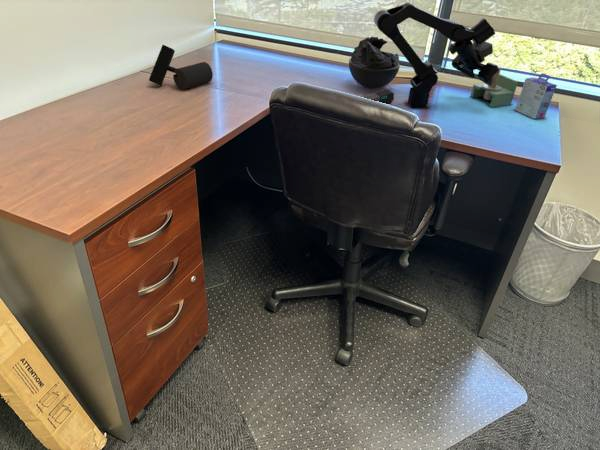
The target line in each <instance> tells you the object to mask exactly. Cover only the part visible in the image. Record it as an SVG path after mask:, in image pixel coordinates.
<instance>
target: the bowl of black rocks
mask: <svg viewBox="0 0 600 450" xmlns="http://www.w3.org/2000/svg"><path fill="white" fill-rule="evenodd" d="M387 43H388V41H386V40H384V38H379V37H378V36H370V37H369V36H368V37H366V38H364V39H361V40H359V41H358V45H357V46H355V47H354V50H353V51H352V53H351V56H350V58H349V59H348V68H349V72H350V74H351V76H352V78H353V80H354V81H355V82H356V83H357V84H358V85H359V86H361V87H363V88H366V89H371V90H376V89H380V88H381V89H382V88H383V87H385V86H387V85H389V84H390V83H391V82H392V81H393V80H394V79H395V78H396V76H397V75H398V73H399V70H400V68H401V64H400V56H399V54H398V53H395V54H394V53H393V52H388V51H382V48H383V46H384V45H386V44H387Z"/></svg>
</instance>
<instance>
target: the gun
mask: <svg viewBox="0 0 600 450" xmlns="http://www.w3.org/2000/svg"><path fill="white" fill-rule="evenodd" d="M362 97H364V98H367V99H371V100H374V101H379V102H382V103H386V104H390V105H392V103H393V101H394V100H395V93H394V92H393V91H392V90H390V89H388V88H385V89H382V90H379V91H375V92H373V93H370V94H367V95H362Z"/></svg>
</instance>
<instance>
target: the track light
mask: <svg viewBox="0 0 600 450" xmlns="http://www.w3.org/2000/svg"><path fill="white" fill-rule="evenodd" d="M175 53H176V50H175V49H174V48H172V47H170V46H168V45H165V44H162V45H161V48H160V50H159V53H158V55H157V58H156V59H155V63H154V65H153V68H152V70H151V73H150V76H149V78H148V81H149V82H151V83H153V84H155V85H158V86H159V87H162V85H163V83H164V81H165V77H166V75H167V72H171V73H174V74H173V75H172V77H173V78H172V79H173V82H174V84H175V86H176V87H177V88H178V89H179V90H181V91H182V90H183V91H184V90H187V89H190V88H193V87H196V86H199V85H200V86H201V85H203V84H204V85H205V84H207V83H210V82H212V80H213V78H214V77H213V75H214V73H213V69H212V67H211V66H210V65H209V63H208V62H206V61H202V62H198V63H194V64H190V65H186V66H183V67H182V66H181V67H179V68H176V67H174V66H170V64H171V62H172V61H173V58H174V55H175Z"/></svg>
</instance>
